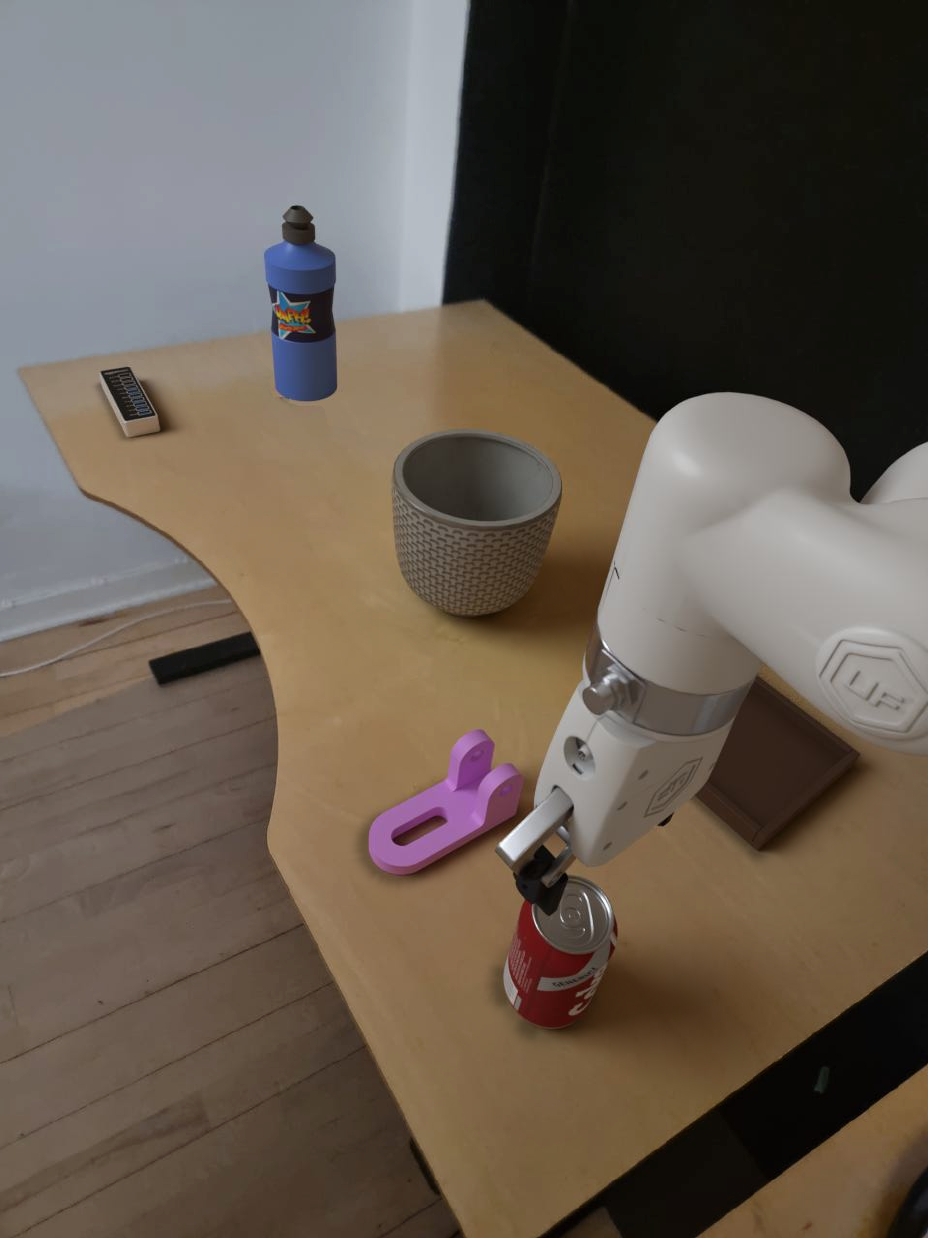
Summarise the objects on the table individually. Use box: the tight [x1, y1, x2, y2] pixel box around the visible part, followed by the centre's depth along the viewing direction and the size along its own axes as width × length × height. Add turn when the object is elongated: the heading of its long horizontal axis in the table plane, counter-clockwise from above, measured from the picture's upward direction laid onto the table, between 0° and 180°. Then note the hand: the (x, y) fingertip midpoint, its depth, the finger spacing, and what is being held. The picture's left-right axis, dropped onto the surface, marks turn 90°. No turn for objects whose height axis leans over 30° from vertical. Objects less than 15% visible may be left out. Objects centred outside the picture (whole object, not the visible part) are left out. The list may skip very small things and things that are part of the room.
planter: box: [390, 428, 563, 618], centre depth 90 cm, size 17×17×16 cm
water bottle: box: [263, 204, 338, 403], centre depth 116 cm, size 9×9×25 cm
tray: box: [694, 674, 861, 852], centre depth 82 cm, size 16×16×2 cm
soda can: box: [502, 874, 619, 1030], centre depth 60 cm, size 7×7×12 cm
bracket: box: [368, 728, 525, 876], centre depth 71 cm, size 13×6×7 cm, turn 125°
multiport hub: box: [98, 365, 161, 438], centre depth 116 cm, size 4×14×2 cm, turn 29°
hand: (592, 849), depth 51 cm, fingers open, 9 cm apart
